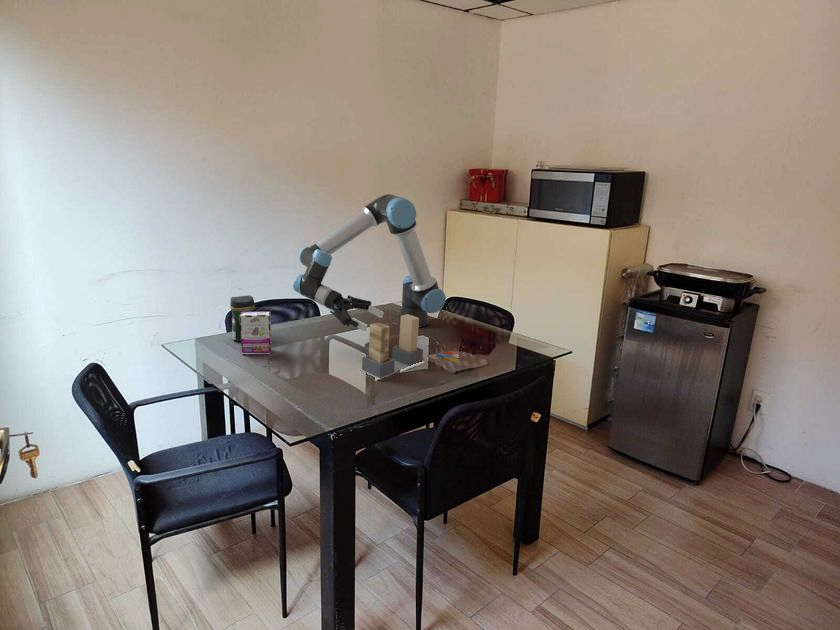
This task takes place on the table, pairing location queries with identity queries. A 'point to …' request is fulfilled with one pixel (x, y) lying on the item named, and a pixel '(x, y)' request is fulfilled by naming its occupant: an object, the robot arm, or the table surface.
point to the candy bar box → (255, 332)
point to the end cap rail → (398, 351)
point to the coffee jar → (237, 307)
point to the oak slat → (379, 342)
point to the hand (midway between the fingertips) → (374, 321)
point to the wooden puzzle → (446, 356)
